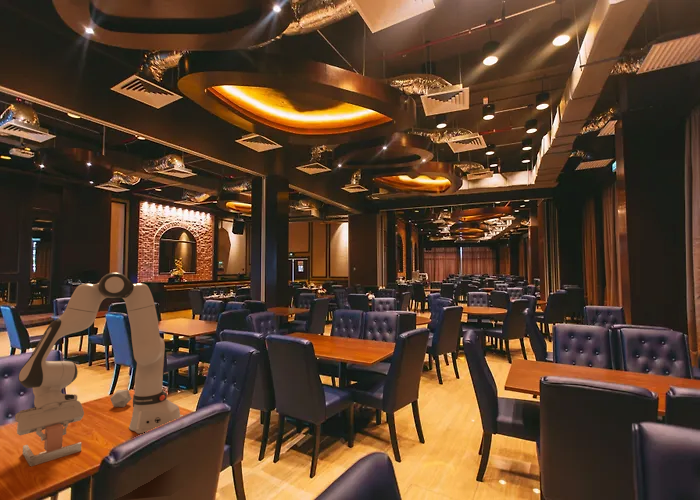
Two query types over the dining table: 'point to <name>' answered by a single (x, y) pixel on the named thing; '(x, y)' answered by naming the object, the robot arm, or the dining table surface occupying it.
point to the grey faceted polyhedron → (120, 398)
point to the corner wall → (49, 454)
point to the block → (53, 437)
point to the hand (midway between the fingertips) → (54, 436)
